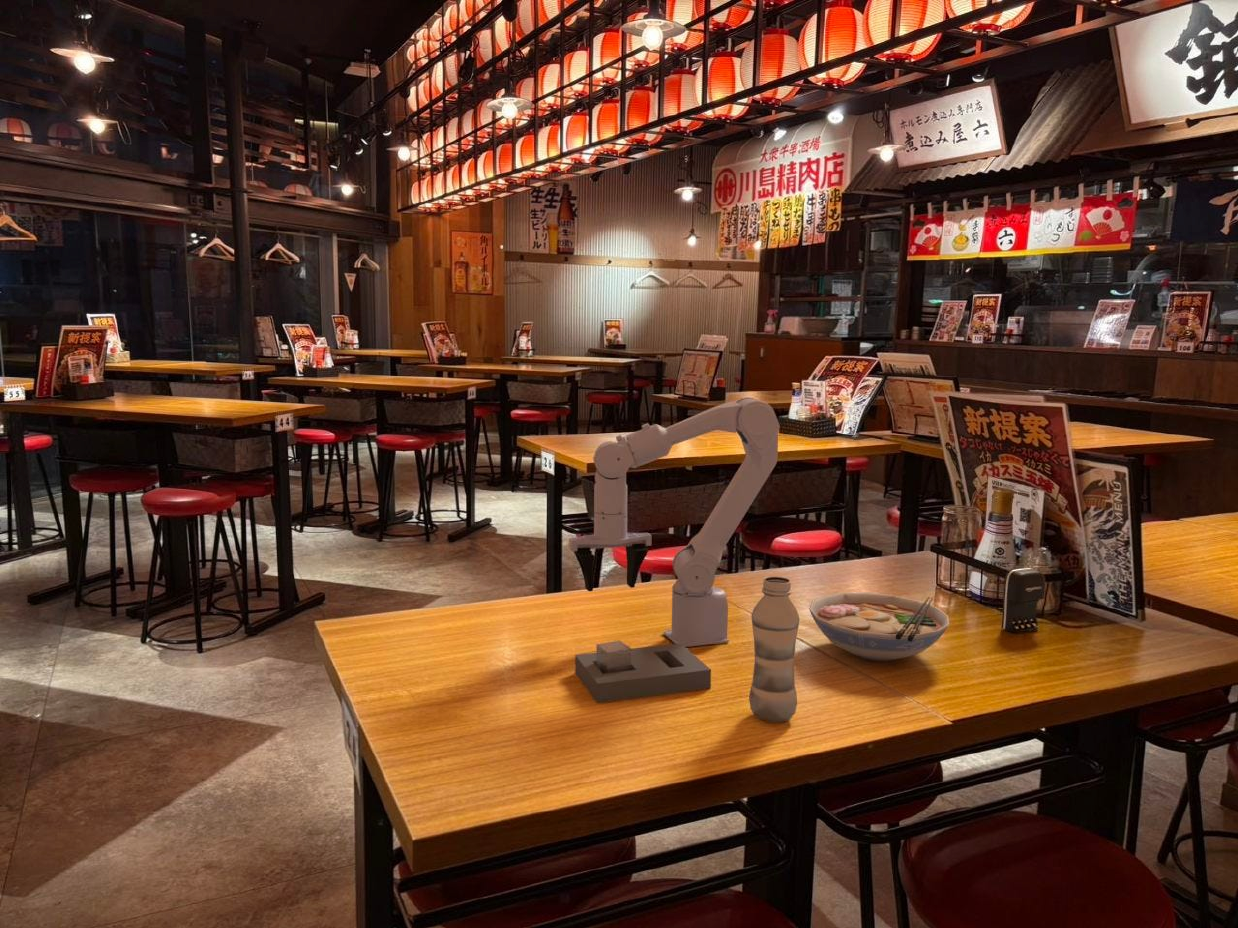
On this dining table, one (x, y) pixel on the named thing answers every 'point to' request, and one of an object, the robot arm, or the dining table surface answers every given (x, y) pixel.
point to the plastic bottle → (774, 652)
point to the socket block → (645, 674)
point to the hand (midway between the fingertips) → (610, 587)
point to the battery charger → (1022, 599)
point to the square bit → (613, 657)
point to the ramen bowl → (879, 624)
